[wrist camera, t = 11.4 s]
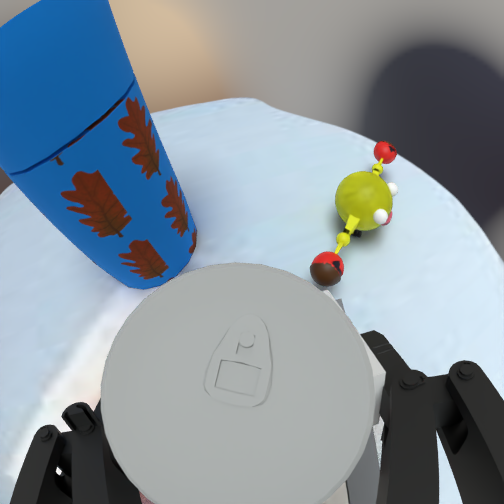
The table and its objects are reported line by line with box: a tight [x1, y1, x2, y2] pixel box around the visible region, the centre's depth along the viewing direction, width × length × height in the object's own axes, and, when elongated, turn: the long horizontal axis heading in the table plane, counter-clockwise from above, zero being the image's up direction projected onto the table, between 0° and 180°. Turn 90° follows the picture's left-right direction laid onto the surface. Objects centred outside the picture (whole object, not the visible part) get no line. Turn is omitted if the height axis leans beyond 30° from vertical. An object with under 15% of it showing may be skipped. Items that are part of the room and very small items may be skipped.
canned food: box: [101, 263, 375, 504], centre depth 11 cm, size 8×8×11 cm
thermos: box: [0, 0, 197, 289], centre depth 18 cm, size 11×11×25 cm
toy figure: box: [310, 141, 398, 286], centre depth 24 cm, size 18×6×7 cm, turn 147°
